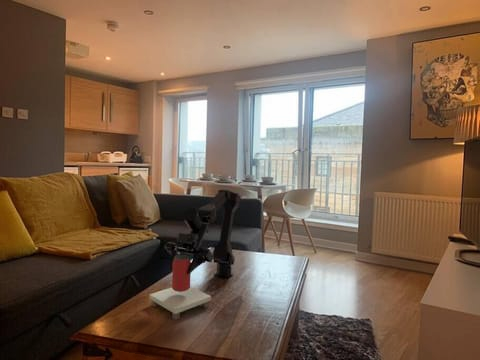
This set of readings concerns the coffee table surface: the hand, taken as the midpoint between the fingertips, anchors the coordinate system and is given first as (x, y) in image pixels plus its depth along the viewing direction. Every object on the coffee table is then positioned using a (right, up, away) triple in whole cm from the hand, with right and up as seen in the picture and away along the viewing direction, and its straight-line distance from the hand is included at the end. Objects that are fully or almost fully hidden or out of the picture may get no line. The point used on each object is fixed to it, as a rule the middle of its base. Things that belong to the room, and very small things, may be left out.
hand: (179, 272), depth 120 cm
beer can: (0, -7, +2) cm, 7 cm away
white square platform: (0, -13, +2) cm, 13 cm away
